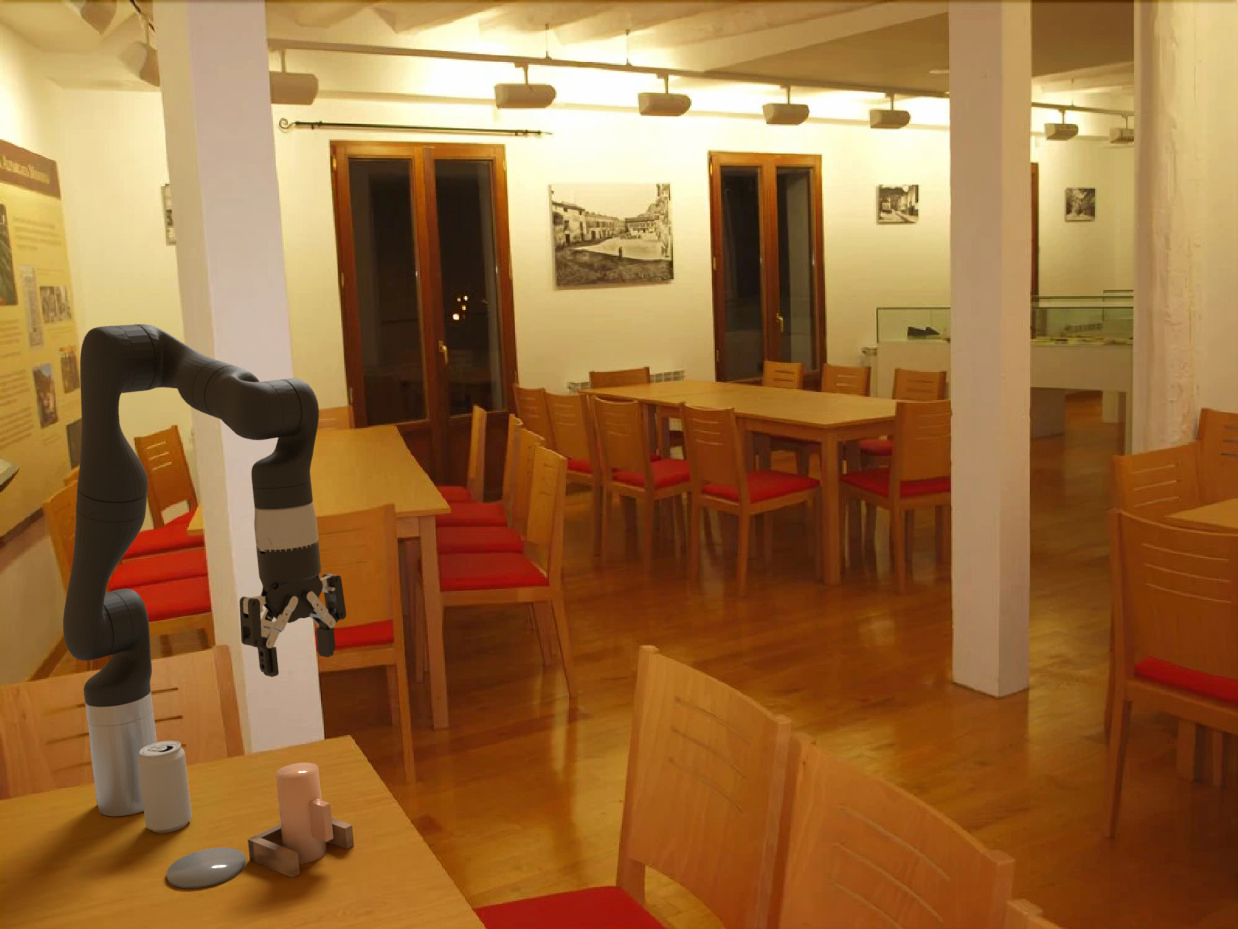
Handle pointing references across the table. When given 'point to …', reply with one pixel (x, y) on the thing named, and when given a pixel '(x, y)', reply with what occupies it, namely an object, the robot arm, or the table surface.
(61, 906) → the table surface
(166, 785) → the beverage can
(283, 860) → the wooden u-shaped frame
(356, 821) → the table surface
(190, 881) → the grey dome disc
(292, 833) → the peach cylinder with handle
